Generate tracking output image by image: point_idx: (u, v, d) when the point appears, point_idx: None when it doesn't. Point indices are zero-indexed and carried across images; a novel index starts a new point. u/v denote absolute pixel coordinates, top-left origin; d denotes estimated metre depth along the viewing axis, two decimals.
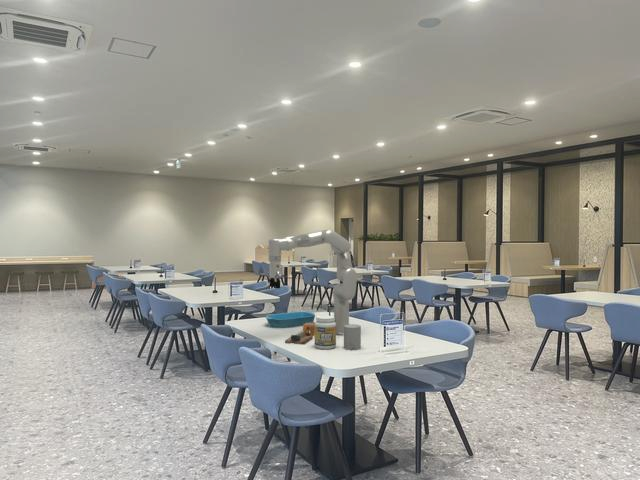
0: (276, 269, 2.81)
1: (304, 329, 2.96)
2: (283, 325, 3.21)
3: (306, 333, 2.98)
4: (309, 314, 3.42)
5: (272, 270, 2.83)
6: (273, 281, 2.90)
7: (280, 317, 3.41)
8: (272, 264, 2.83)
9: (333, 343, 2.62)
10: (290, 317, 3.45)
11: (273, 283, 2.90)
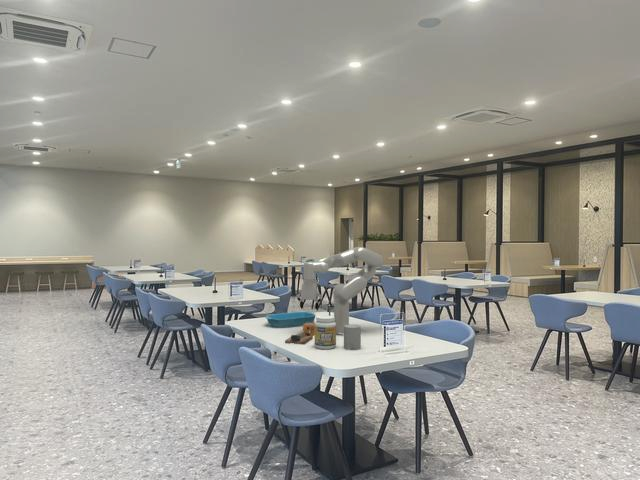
0: (316, 291, 2.97)
1: (304, 329, 2.96)
2: (282, 325, 3.21)
3: (306, 333, 2.98)
4: (310, 314, 3.42)
5: (311, 292, 2.96)
6: (302, 303, 3.00)
7: (281, 317, 3.41)
8: (312, 286, 2.96)
9: (333, 343, 2.62)
10: (291, 317, 3.44)
11: (302, 305, 3.01)
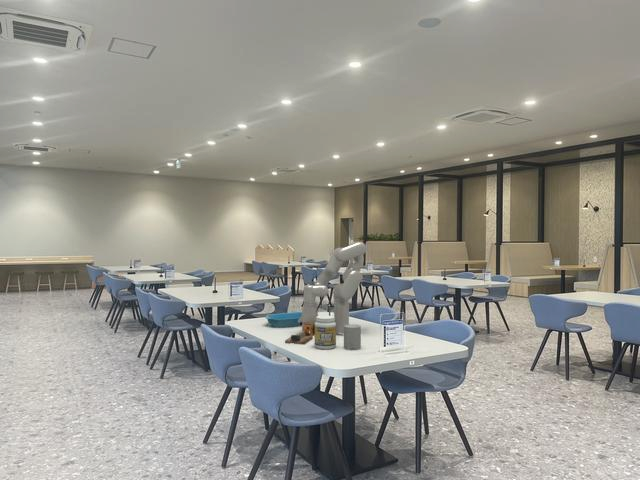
0: (316, 314, 2.97)
1: (304, 329, 2.96)
2: (281, 325, 3.21)
3: (306, 333, 2.98)
4: None
5: (312, 316, 2.96)
6: None
7: (281, 317, 3.41)
8: (312, 310, 2.96)
9: (333, 343, 2.62)
10: (292, 317, 3.44)
11: None
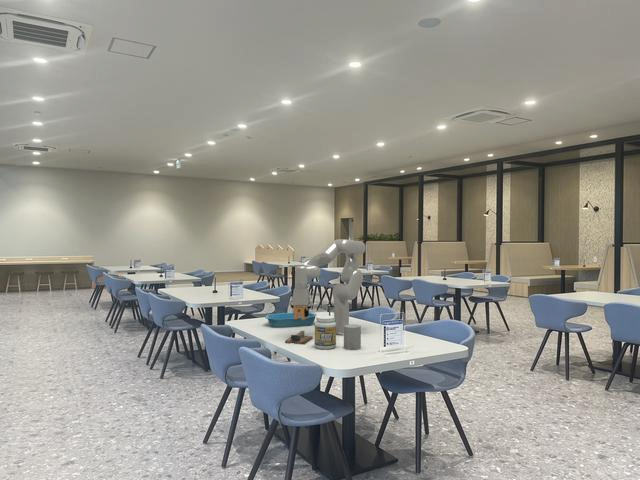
0: (308, 297, 2.84)
1: (295, 312, 2.82)
2: (280, 325, 3.21)
3: (297, 316, 2.84)
4: (311, 315, 3.39)
5: (303, 298, 2.83)
6: None
7: (283, 317, 3.42)
8: (303, 292, 2.83)
9: (333, 343, 2.62)
10: (293, 317, 3.44)
11: None
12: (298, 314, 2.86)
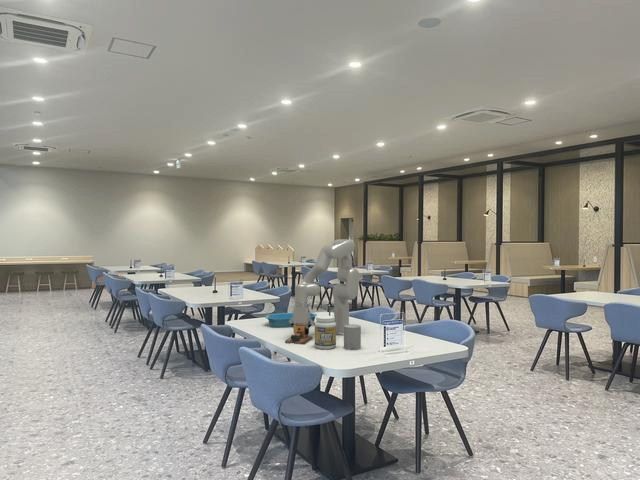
0: (309, 315, 2.84)
1: (295, 330, 2.82)
2: (279, 325, 3.22)
3: None
4: (312, 315, 3.38)
5: (303, 316, 2.83)
6: None
7: (284, 317, 3.42)
8: (303, 310, 2.83)
9: (333, 343, 2.62)
10: None
11: None
12: (298, 332, 2.86)
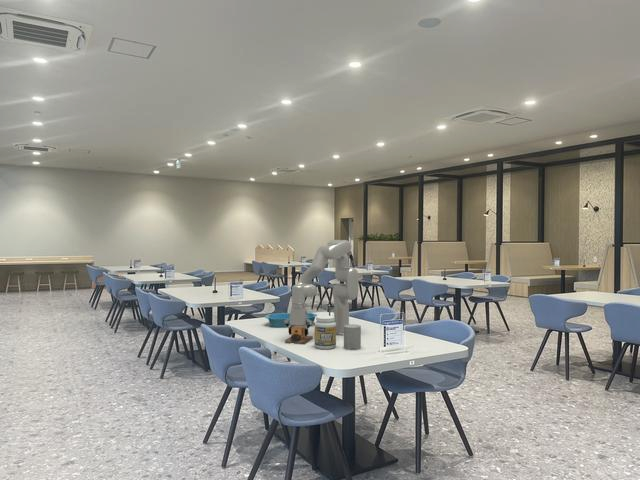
0: (306, 316, 2.78)
1: (292, 333, 2.77)
2: (278, 325, 3.22)
3: None
4: (312, 315, 3.37)
5: (300, 318, 2.77)
6: None
7: (284, 317, 3.42)
8: (300, 312, 2.77)
9: (333, 343, 2.62)
10: None
11: None
12: None
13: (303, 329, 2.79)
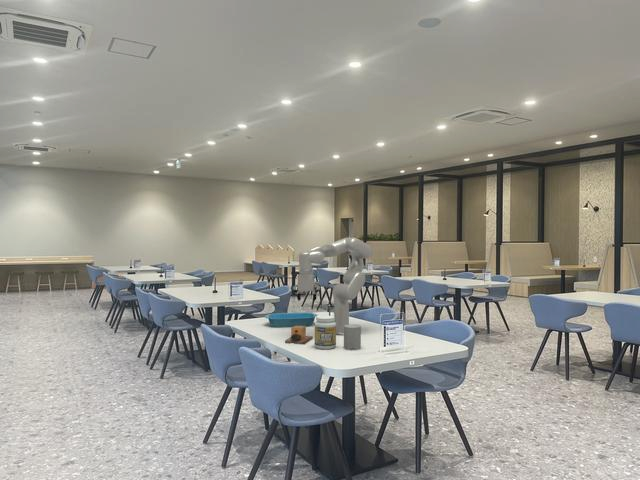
0: (313, 282, 2.87)
1: (292, 333, 2.77)
2: (277, 325, 3.22)
3: None
4: (313, 315, 3.36)
5: (309, 283, 2.86)
6: None
7: (285, 317, 3.42)
8: (308, 277, 2.86)
9: (333, 343, 2.62)
10: (296, 317, 3.43)
11: (300, 297, 2.91)
12: None
13: (303, 329, 2.79)
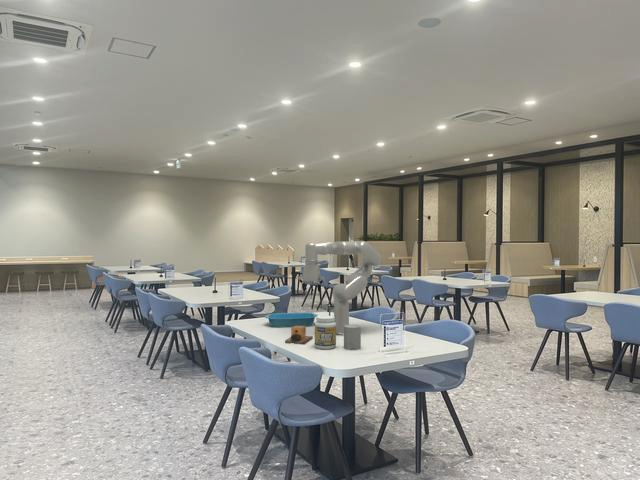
0: (318, 273, 2.93)
1: (292, 333, 2.77)
2: (276, 324, 3.23)
3: None
4: (313, 316, 3.36)
5: (314, 274, 2.92)
6: (304, 285, 2.97)
7: (286, 317, 3.43)
8: (313, 268, 2.92)
9: (333, 343, 2.62)
10: (296, 317, 3.43)
11: (304, 287, 2.97)
12: None
13: (303, 329, 2.79)
